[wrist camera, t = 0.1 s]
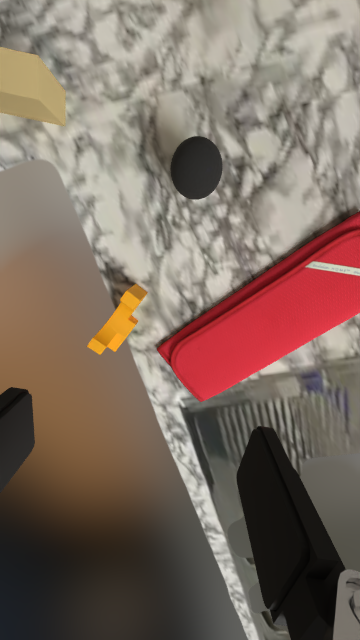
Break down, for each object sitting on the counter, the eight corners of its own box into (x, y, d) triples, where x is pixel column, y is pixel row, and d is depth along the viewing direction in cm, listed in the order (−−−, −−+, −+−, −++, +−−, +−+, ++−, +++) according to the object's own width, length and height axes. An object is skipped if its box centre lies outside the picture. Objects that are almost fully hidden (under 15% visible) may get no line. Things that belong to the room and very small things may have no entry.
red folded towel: (156, 345, 43) (153, 353, 39) (355, 208, 34) (374, 203, 30) (200, 397, 46) (202, 410, 43) (389, 286, 38) (410, 290, 34)
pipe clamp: (120, 344, 42) (108, 360, 36) (101, 331, 41) (87, 346, 35) (155, 298, 39) (149, 307, 33) (136, 283, 38) (126, 290, 32)
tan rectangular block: (-25, 72, 29) (-76, 29, 24) (66, 92, 30) (38, 55, 24) (-22, 108, 31) (-69, 76, 25) (65, 126, 31) (39, 100, 25)
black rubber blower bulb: (201, 216, 34) (207, 204, 25) (166, 194, 33) (158, 173, 24) (222, 175, 32) (238, 146, 23) (186, 151, 32) (187, 110, 22)
